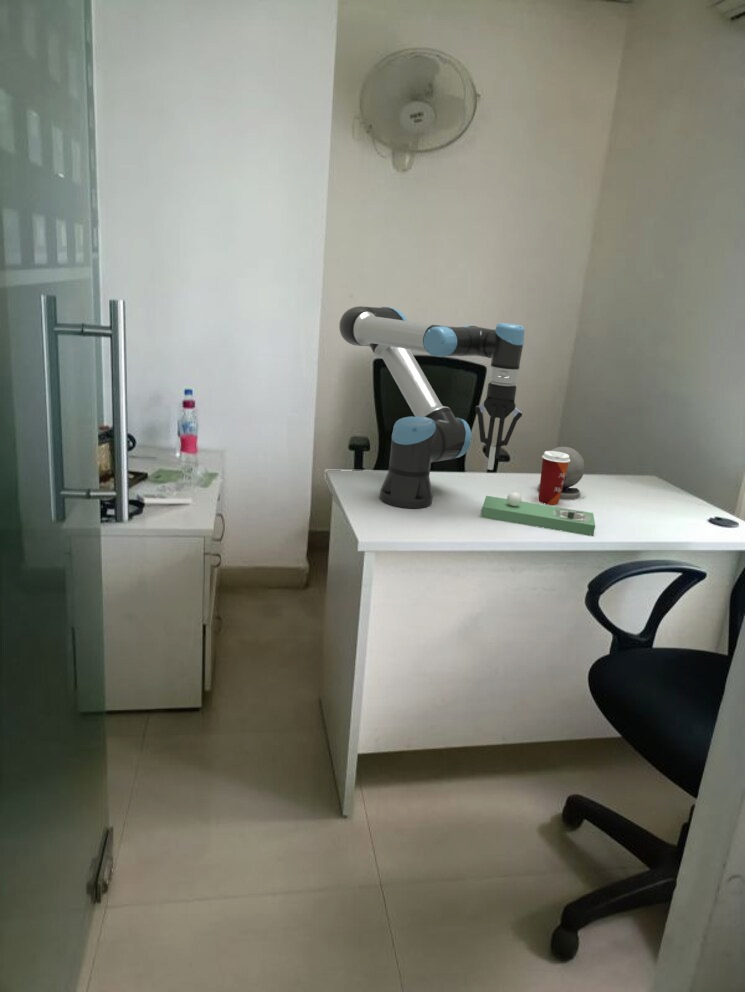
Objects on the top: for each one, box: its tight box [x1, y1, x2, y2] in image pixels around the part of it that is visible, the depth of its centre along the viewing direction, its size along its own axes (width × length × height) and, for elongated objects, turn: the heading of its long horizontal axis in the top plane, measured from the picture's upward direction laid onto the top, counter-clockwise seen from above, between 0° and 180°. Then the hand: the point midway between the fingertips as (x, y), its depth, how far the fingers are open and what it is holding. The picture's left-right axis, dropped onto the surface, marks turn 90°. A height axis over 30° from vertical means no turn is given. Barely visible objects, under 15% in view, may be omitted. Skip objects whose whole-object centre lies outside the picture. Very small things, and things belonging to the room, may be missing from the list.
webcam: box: [537, 446, 586, 501], centre depth 221 cm, size 13×13×15 cm
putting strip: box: [480, 495, 596, 537], centre depth 196 cm, size 30×11×3 cm, turn 76°
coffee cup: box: [537, 450, 570, 506], centre depth 212 cm, size 8×8×15 cm
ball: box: [506, 491, 522, 506], centre depth 196 cm, size 4×4×4 cm
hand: (490, 468), depth 195 cm, fingers closed
